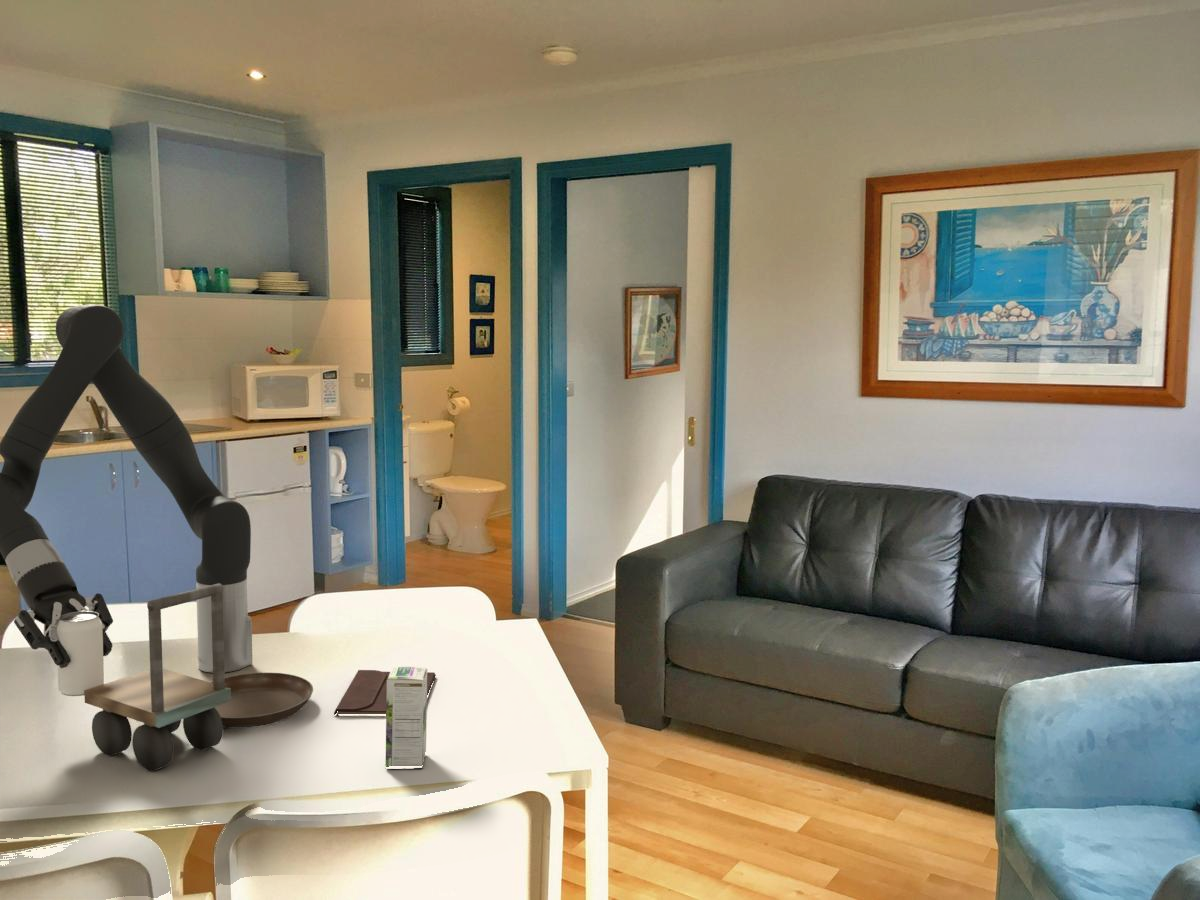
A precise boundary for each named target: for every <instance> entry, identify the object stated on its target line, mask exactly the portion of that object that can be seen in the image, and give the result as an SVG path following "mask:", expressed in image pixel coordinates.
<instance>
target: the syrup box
mask: <svg viewBox="0 0 1200 900" xmlns="http://www.w3.org/2000/svg"><path fill="white" fill-rule="evenodd" d="M389 672H390V674H389V677H388V680H387V702H386V717H385V718H386V720H385V766H386V767H389V766H422V765H423V766H424V764H423V762H424V763H425V759H424V757H425V758H426V755H425V752H427V720H428V719H427V718H428V717H427V716H428V715H427V713H428V712H427V711H428V709H427V708H428V706H427V705H428V701H427V672H428V668H426V667H419V666H407V665H406V666H396V667H391V670H390V671H389Z"/></svg>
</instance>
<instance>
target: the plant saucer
mask: <svg viewBox="0 0 1200 900" xmlns="http://www.w3.org/2000/svg"><path fill="white" fill-rule="evenodd" d="M210 683H213V681H212V682H210ZM225 687H227V688H230V689H231V701H229V702H227V703H224V704H221V705H219V706H216V707H214V708H215V709H216V710H217V711H218V713H219V715H220V717H221V720H222V724H223V728H225V727H226V728H227V729H228V728H229V729H245V728H246V729H249V728H258V727H259V728H260V727H264V726H269V725H273V724H276V722H277V723H278V722H280V723H281V722H282V721H285V720H287V719H289V718H291V717H292V716H294V715H296V714H297V713H298V712H299V711H300V710H301V709H302V708H303V707H304V706H306V704H307V703H308V701H309V700H310V698H311V697H312V695H313V692H314V687H313V684H312V683H311V681H308V680H307V679H306V678H303V677H301V676H299V675H298V676H297V675H295V674H289V673H283V672H254V673H245V674H239V675H231V676H228V677H225Z"/></svg>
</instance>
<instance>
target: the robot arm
mask: <svg viewBox="0 0 1200 900" xmlns="http://www.w3.org/2000/svg"><path fill="white" fill-rule="evenodd" d="M119 315H120V314H118V313H117V312H116V311H115V310H113V309H112V308H110V307H108V306H106V305H102V304H82V305H74V306H71V307H69V308H66V309H65V310H63V312H61V313H60V314H59V316H58V317H57V319H56V322H55V336H56V338H57V341H58V343H59V345H60V346H61V348H62V349H61V352H60V354H59V356H58V358H57V359H56V361H55V363H54V365H53V367H52V368H51V370H50V371H49V372H48V373H47V375H46V376H45V378H44V379H43V381H42V382H41V383H40V384H39V385H38V386H37V388H36V389H35V390H34V391H33V392H32V393H31V394H30V395H29V397H28V398H27V399H26V400H25V402H24V403H23V404H22V406H21V407H20V409H19V410H18V412H16V414H15V416H14V418H13V420H12V421H11V423H10V425H9V427H8V429H7V430H6V432H5V433H4V435H3V436H2V438H1V441H0V457H2V458H3V466H2V469H1V472H0V554H1V556H2V558H3V559H4V562H5V564H6V567H7V569H8V572H9V575H10V576H11V578H12V581H13V582H14V584H15V586H16V587H17V589H18V591H19V593H20V595H21V597H22V598H23V600H24V603H25V604H26V606H27V607H28V609H30V610H28V611H27V610H25V609H21V610H20V612H19V613H18V614H17V616H16V617H15V618H14V621H13V624H14V626H16V628H17V629H18V630H19V632H20V634H21V635H22V637H23V638H24V639H25V641H26V642H27V644H28V645H29V647H30V648H31V649H32V650H35V651H36V650H39V649H45V650H47V651H48V654H49V655H50V658H51V659H52V661H53V662H54V665H56V666H57V667H58V665H59V666H60V668H64V667H67V666H68V664H69V663H70V661H71V660H70V657H69V655H68V654H67V652H66V650H65V648H64V647H63V646H62V644H61V643H60V641H57V640H58V635H57V626H58V624H59V621H60V619H59V617H60V616H62V615H64V614H67V613H71V612H78V611H93V612H97V613H99V619H100V620H101V622H102V629H103V658H104V657H107V656H109V655H110V653H111V652H112V648H113V642H112V641H111V639H110V637H109V635H108V633H107V632H106V631H107V630H108V629H109V628H110V626H111V625H112V624H113V622H114V619H113V617H112V615H111V613H110V611H109V608H108V606H107V604H106V601H105V599H104V596H103V595H102V594H101V593H98V592H97V593H95V594H94V596H90V597H85V596H83V595H82V594H81V593H79V591H78V588H77V583H76V582H75V580H74V578H73V575H72V574H71V573H70V571H69V569H68V567H67V565H66V564H65V562H64V560H63V558H62V557H61V554H60V553H59V552H58V550H57V549H56V548H55V546H54V545H53V543H51V541H50V539H49V537H48V536H47V534H46V532H45V530H44V528H43V527H42V525H41V523H40V522H39V521H38V519H37V518H35V517H34V516H33V515H32V514H31V513H29V512H28V511H26V509H27V507H28V506H29V505H30V503H31V501H32V499H33V496H34V493H35V491H36V487H37V483H38V480H39V477H40V472H41V467H42V464H43V461H44V459H45V458H46V456H47V454H48V452H49V451H50V449H51V448H52V446H53V443H54V442H55V440H56V438H57V437H58V435H59V434H60V431H61V429H62V427H63V426H64V424H65V422H66V421H67V419H68V417H69V416H70V414H71V412H72V410H73V409H74V407H75V405H76V404H77V402H78V401H79V400H80V398H81V396H82V395H83V393H84V392H85V391H86V389H87V387H88V386H89V385H90V384H91V383H92V384H93V385H94V386H95V388H96V389H97V391H98V392H99V393H100V396H101V397H102V398H103V400H104V402H105V403H106V405H107V406H108V408H109V410H110V411H111V414H112V415H113V416H114V418H115V419H116V420H117V422H118V424H119V425H120V427H121V428H122V429H123V432H125V434H126V436H127V438H128V439H129V440H130V442H131V443H132V445H133V446H134V447H135V449H136V451H138V453H139V454H140V456H141V457H142V458H143V459H144V461H145V462H146V464H147V465H148V466H149V467H150V468H151V469H152V471H153V472H154V473H155V475H156V476H157V477H158V478H159V479H160V481H161V482H162V483H163V484H164V485H165V486H166V488H167V489H168V490H169V492H170V493H171V494H172V496H173V498H174V499H175V501H176V503H177V505H178V507H179V509H180V510H181V513H182V514H183V516H184V518H185V520H186V522H187V524H188V525H189V527H190V530H191V531H192V533H194V535H195V536H196V537H197V538H199V539H200V540H201V562H200V564H198V565H197V567H196V569H195V579H196V581H195V586H196V587H195V588H196V589H199V588H203V587H207V586H211V585H215V584H218V583H220V584H221V585H222V586H223V632H224V673H229V672H230V673H231V672H235V671H238V670H241V669H244V668H245V667H248V666H253V623H252V617H251V616H249V614H248V611H249V610H248V606H249V605H248V569H249V566H250V563H251V550H252V549H251V548H252V547H251V545H252V544H251V543H252V537H251V536H252V534H251V532H252V531H251V530H252V529H251V528H252V525H251V519H250V515H249V512H248V510H247V509H246V507H245V506H244V505H242V504H241V503H240V502H238V501H236V500H234V499H230V498H228V497H227V496H225V495H224V494H223V493H222V492H221V490H220V489H219V488H218V486H216V484H214V482H213V481H212V480H211V478H210V476H208V475H207V472H205V470H204V468H203V465H202V464H201V462H200V459H199V456H198V452H197V449H196V446H195V444H194V441H193V439H192V436H191V435H190V432H189V431H188V429H187V427H186V425H185V424H184V422H183V421H182V420H181V418H180V417H179V415H178V414H177V412H176V411H175V409H174V408H173V407H172V404H170V403H169V402H168V399H166V398H165V397H164V396H163V395H162V394H161V393H160V392H159V391H158V390H157V389H156V388H155V387H154V386H153V385H152V384H151V383H150V382H148V381H147V380H146V379H145V378H144V377H143V376H142V375H141V374H140V373H139V372H138V371H137V370H136V369H135V368H134V367H133V366H132V364H131V363H130V361H129V360H128V359H127V357H126V355H125V353H124V352H123V351H122V349H121V347H120V346H121V344H122V342H123V340H124V335H125V329H124V328H125V326H124V323H123V320H122V318H121V317H120V316H119ZM86 607H87V608H86ZM196 617H197V622H196V623H197V652H198V653H197V655H198V656H197V659H198V669H199V670H200V671H202V672H204V673H205V672H206V673H212V674H213V654H212V615H211V596H209V597H206V598H202V599H198V600H196ZM35 620H36V621H37V622H39V623H41V624H43V632H42V630H41V629H40V627H39V626H38V625H37V623H36V621H35Z"/></svg>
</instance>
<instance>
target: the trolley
mask: <svg viewBox="0 0 1200 900" xmlns="http://www.w3.org/2000/svg"><path fill="white" fill-rule="evenodd" d="M209 596H211V615H212V654H213V673H212V677H213V678H212V680H213V681H212V682H213V683H211V682H209V681H207V680H202V679H199V678H197V677H196V678H195V677H192V676H189V675H186V674H183V673H178V672H175V671H172V670H170V669H169V670H168V669H165V668H164V667H163V640H162V639H163V638H162V611H161V610H164V609H166V608H167V609H168V608H171V607H175V606H178V605H182V604H185V603H186V604H187V603H190V602H194V601H197V600H198V599H202V598H206V597H209ZM147 614H148V636H149V637H148V642H149V643H148V644H149V645H148V647H149V669H147V670H143V671H141V672H138V673H135V674H132V675H129V676H125V677H122V678H119V679H116V680H113V681H109V682H106V683H104V684H103V685H100V686H97V687H93V688H90V689H87V690H84V695H83V697H84V703H85V704H87V705H89V706H93V707H96V708H99V709H102V710H100V711H98V712H96V713H95V714H94V716H93V718H92V723H91V732H92V738H93V741H94V743H95V744H96V747H97V748H98V749H99V751H100V752H101V753H103V754H104V755H105V756H114V755H118V754H119V753H122V752H124V751H126V750H127V749H129V747H130V745H132V749H133V753H134V756H135V759H136V760H137V762H138V763H139V765H140V766H141V767H142V768H143V769H144V770H145V771H149V772H155V771H156V770H159V769H162V768H164V767H167V766H168V765H170V764H171V762H172V760H173V758H174V754H175V748H174V746H175V745H174V741H173V738H172V734H171V733H174V732H176V731H178V729H179V728H180V726H181V723H182V728H183V733H184V735H185V738H186V739H187V741H188V743H189V744H190V746H192V747H193V748H194V749H196V750H198V751H205V750H207V749H210V748H212V747H215V746H217V745H219V744H220V742H221V741H222V738H223V736H224V727H223V724H222V720H221V717H220V715H219V713H218V711H217V710H216V709H215V708H214V707H216V706H219V705H221V704H224V703H227V702H229V701H231V689H230V688H227V687H225V678H226V677H225V673H226V672H224V632H223V586H222V585H221V584H220V583H218V584H215V585H211V586H207V587H203V588H199V589H192V590H188V591H187V590H186V591H183V592H180V593H176V594H171V595H168V596H163V597H159V598H156V599H151V600H148V601H147ZM129 719H131V720H134V721H137V722H140V723H143V724H142V725H139V726H137V728H136V729H135V730H134V732H133V734H132V726H131V724H130V721H129ZM131 743H132V744H131Z"/></svg>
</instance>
